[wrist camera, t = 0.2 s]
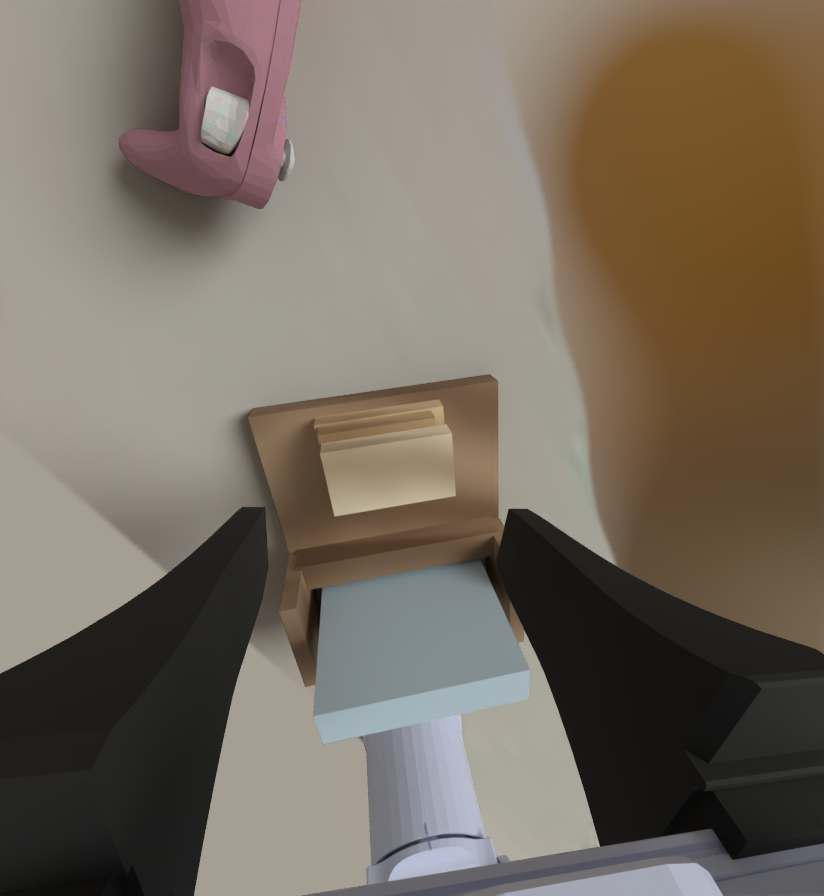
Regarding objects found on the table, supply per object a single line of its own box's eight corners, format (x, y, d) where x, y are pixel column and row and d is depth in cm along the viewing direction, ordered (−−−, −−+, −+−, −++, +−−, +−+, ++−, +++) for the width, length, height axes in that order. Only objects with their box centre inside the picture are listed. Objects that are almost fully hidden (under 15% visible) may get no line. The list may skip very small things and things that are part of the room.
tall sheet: (475, 571, 25) (528, 699, 17) (330, 598, 24) (323, 744, 17) (474, 545, 24) (529, 669, 17) (323, 573, 23) (313, 716, 16)
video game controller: (246, 215, 17) (306, 232, 13) (116, 168, 14) (130, 167, 10) (289, -97, 14) (396, -239, 9) (127, -244, 11) (157, -571, 6)
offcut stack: (444, 470, 21) (458, 501, 18) (331, 488, 21) (329, 523, 18) (438, 399, 19) (453, 422, 17) (315, 417, 19) (310, 443, 16)
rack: (492, 576, 27) (523, 643, 22) (313, 611, 26) (306, 689, 21) (489, 374, 20) (532, 408, 16) (253, 408, 19) (223, 455, 15)
